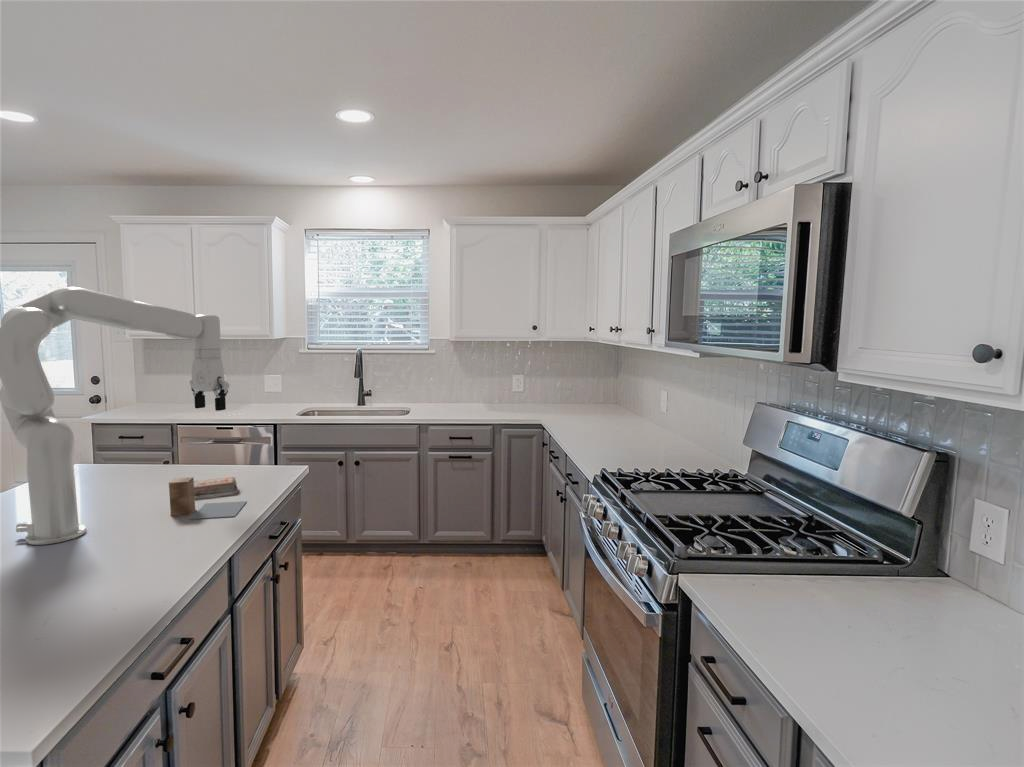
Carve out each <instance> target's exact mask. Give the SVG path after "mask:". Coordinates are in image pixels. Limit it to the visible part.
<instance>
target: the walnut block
mask: <svg viewBox="0 0 1024 767" xmlns="http://www.w3.org/2000/svg"><path fill="white" fill-rule="evenodd" d="M194 481H195V480H194V476H193V477H192V476H191V477H174V478H173V479H172V480H171V481H169V482H168V491H169V507H170V509H169V510H170V517H178V516H180V517H181V516H191V515H192V513H193V512H194V511H195V510H196V499H195V497H194Z"/></svg>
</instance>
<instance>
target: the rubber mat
mask: <svg viewBox="0 0 1024 767" xmlns="http://www.w3.org/2000/svg"><path fill="white" fill-rule="evenodd" d="M247 502H248V501H246V500H245V501H243V500H242V501H241V500H240V501H227V502H226V501H225V502H208V503H204V504H203V505H202V506H201V507H200V508H198V510H197V511H196V512H195V513H194V514H193V515H192V516H191V517H190V518H189V520H190V521H191V520H209V519H223V518H226V519H227V518H235V517H237V516H238V514H239V513H240V512H241V510H242V509H243V508H244V507H245V506H246V504H247Z"/></svg>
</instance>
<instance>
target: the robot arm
mask: <svg viewBox="0 0 1024 767" xmlns="http://www.w3.org/2000/svg"><path fill="white" fill-rule="evenodd" d="M72 320H78V321H82V322H87V323H93V324H97V325H102V326H106V327H112V328H117V329H121V330H122V329H123V330H128V331H139V332H151V333H156V334H163V335H166V336H167V337H169V338H171V339H179V340H192V341H193V360H192V365H191V366H192V367H191V380H190V381H189V385H190V388H191V391H192V394H193V397H194V408H195V409H203V408H205V407H206V395H205V394H204V393H206V392H207V393H210V392H213V393H214V396H215V397H214V408H215V409H214V410H215V412H218V411H225V410H226V409H227V408H226V407H227V406H226V404H227V403H226V398H227V394H228V393H229V388H230V384H229V383H228V381H226V380H225V369H224V364H223V360H222V345H221V344H222V343H221V342H222V341H221V320H220V317H219V316H218V315H216V314H215V315H214V314H196V315H195V314H193V313H191V312H185V311H182V310H177V309H174V308H169V307H165V306H160V305H156V304H155V305H154V304H150V303H146V302H143V301H138V300H135V299H130V298H126V297H125V298H124V297H120V296H118V295H117V296H116V295H114V294H113V295H112V294H108V293H105V292H100V291H96V290H91V289H88V288H83V287H78V286H77V287H76V286H67V287H61V288H57V289H55V290H53V291H50V292H49V293H47V294H44V295H42V296H40V297H37V298H34V299H33V300H30V301H28V302H25V303H23V304H20V305H18V306H15V307H13V308H11V309H9V310H8V311H6V312H5V313H4V314H3V315H2V318H1V321H0V325H1V326H0V381H1V383H2V386H1V387H0V405H1V408H2V409H3V412H4V414H5V417H6V419H7V422H8V423H9V425H10V428H11V430H12V433H13V434H14V436H15V438H16V440H17V442H18V443H19V444H20V445H21V446H22V447H24V448H26V476H27V483H28V484H27V485H28V493H29V494H28V495H29V496H28V497H29V507H30V517H31V522H27V521H26V522H25V521H24V522H18V523H17V524H16V526H15V527H16V528H15V532H16V533H23V532H24V533H25V532H26V533H27V535H26V536H25V538H24V540H25V543H26V544H27V545H28V544H29V545H35V546H38V545H39V546H40V545H41V546H44V545H52V544H57V543H58V544H59V543H63V542H67V541H70V540H73V539H76V538H79V537H81V536H82V535H84V534H85V533H86V532H87V526H86V525H84V524H81V523H79V513H78V502H77V498H78V497H77V488H76V486H77V485H76V476H75V466H74V452H75V451H74V450H75V437H74V436H75V435H74V432H73V430H72V428H71V427H70V426H69V424H67V423H66V422H64V421H63V420H61V419H58V418H56V415H55V412H54V410H53V408H52V407H53V405H54V403H55V394H54V391H53V389H52V387H51V384H50V383H49V381H48V377H47V375H46V373H45V370H44V368H43V365H42V363H41V362H42V361H41V359H40V356H39V355H40V354H39V347H40V345H41V342H42V341H43V340H44V339H46V337H48V336H49V335H50V334H51V333H52V330H53V329H55V328H57V327H59V326H62V325H64V324H65V323H67V322H69V321H72Z"/></svg>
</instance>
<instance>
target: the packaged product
mask: <svg viewBox="0 0 1024 767" xmlns="http://www.w3.org/2000/svg"><path fill="white" fill-rule="evenodd" d="M237 494H238V485H237V481H236V477H234V476H232V477H230V476H229V477H220V478H219V477H218V478H211V479H201V480H194V497H195V500H203V499H209V498H218V497H225V496H232V495H237Z"/></svg>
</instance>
